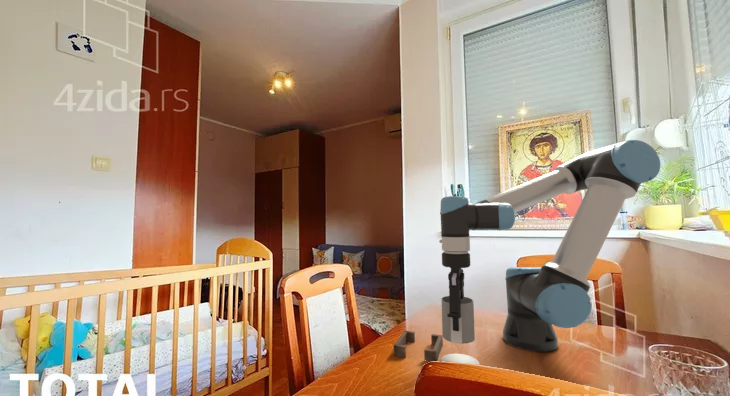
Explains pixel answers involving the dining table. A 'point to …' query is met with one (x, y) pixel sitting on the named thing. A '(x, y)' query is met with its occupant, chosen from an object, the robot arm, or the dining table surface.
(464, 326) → the cup
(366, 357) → the dining table surface
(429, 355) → the pocket holder
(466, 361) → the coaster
